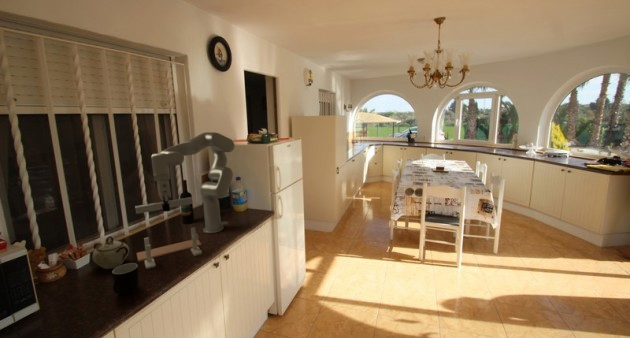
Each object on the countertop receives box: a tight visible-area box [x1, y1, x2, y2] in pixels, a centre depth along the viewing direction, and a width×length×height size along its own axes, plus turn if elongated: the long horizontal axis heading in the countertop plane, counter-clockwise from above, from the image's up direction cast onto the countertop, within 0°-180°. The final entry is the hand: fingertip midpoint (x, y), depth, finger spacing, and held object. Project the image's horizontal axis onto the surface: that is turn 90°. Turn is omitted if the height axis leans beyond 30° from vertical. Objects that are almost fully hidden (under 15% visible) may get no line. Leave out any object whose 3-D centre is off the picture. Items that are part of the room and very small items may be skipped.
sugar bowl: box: [91, 235, 130, 270], centre depth 143 cm, size 20×15×15 cm
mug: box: [111, 262, 140, 296], centre depth 120 cm, size 12×9×10 cm
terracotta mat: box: [136, 239, 202, 263], centre depth 160 cm, size 31×10×1 cm, turn 125°
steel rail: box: [134, 197, 194, 215], centre depth 155 cm, size 27×3×3 cm, turn 126°
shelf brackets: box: [143, 227, 203, 270], centre depth 149 cm, size 26×8×13 cm, turn 125°
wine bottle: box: [179, 179, 195, 225], centre depth 199 cm, size 8×8×30 cm
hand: (165, 209), depth 156 cm, fingers closed on steel rail, 3 cm apart
